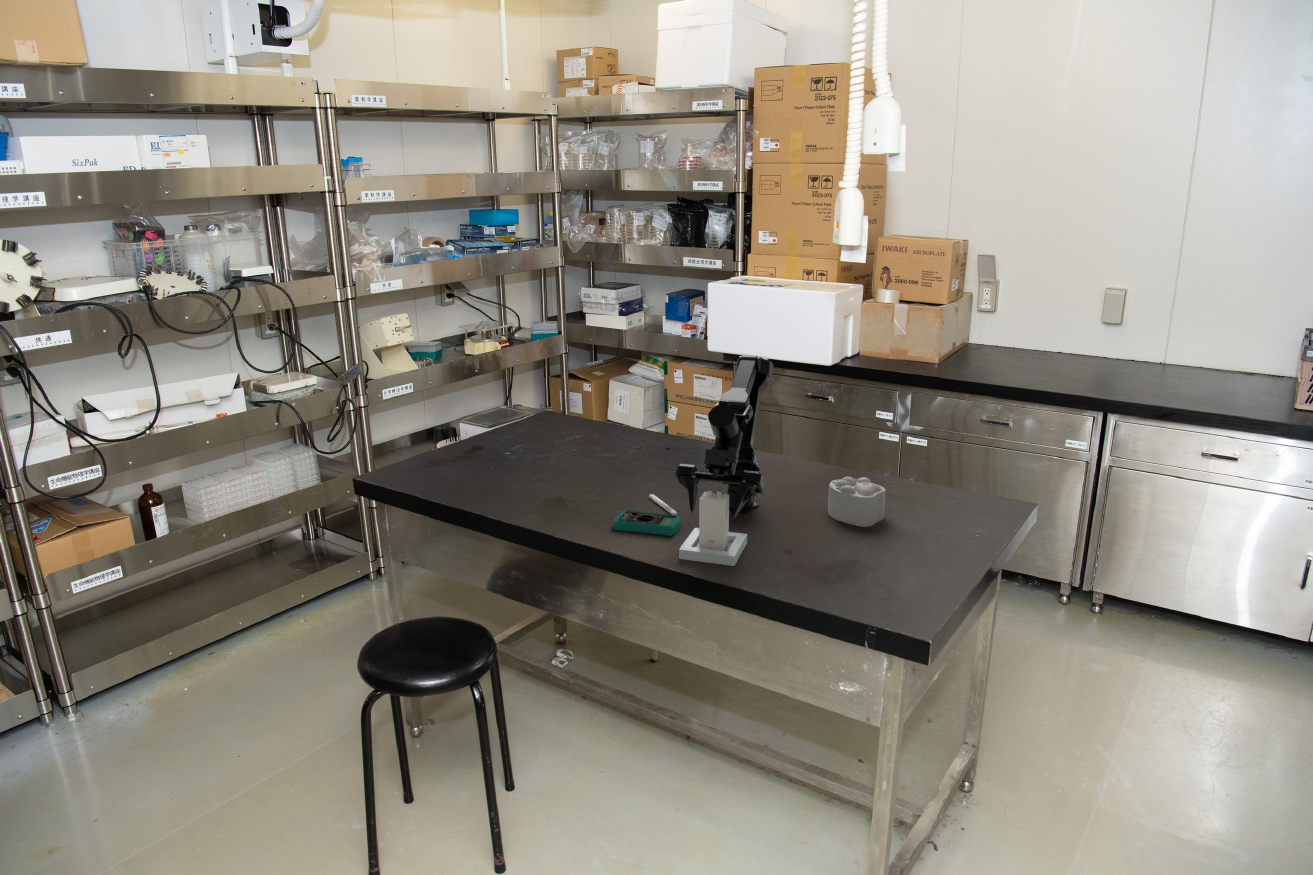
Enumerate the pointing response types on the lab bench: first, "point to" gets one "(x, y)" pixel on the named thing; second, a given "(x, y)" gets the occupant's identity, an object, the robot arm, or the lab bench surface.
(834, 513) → the lumpy-topped squat cylinder
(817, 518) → the lab bench surface
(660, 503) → the white rod
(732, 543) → the outlet plate
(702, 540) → the adapter
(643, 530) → the digital multimeter
